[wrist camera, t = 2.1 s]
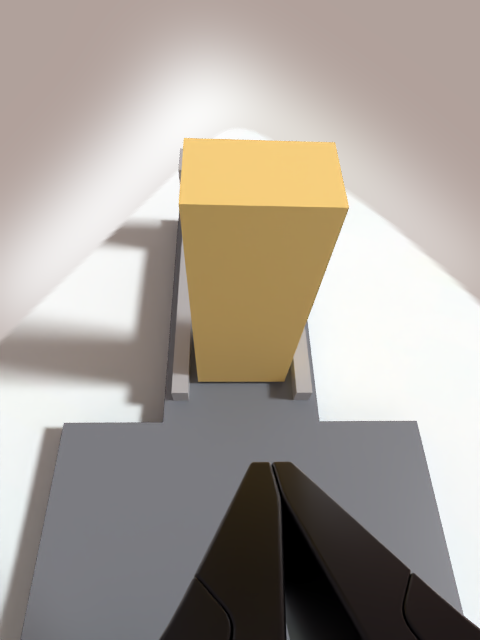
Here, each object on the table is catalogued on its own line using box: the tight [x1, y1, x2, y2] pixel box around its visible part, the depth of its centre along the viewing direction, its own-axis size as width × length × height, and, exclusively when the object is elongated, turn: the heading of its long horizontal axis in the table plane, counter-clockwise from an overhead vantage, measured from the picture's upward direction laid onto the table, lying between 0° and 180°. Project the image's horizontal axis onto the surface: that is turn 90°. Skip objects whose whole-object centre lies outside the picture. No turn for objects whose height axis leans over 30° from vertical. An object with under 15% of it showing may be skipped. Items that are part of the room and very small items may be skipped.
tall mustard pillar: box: [179, 138, 349, 382], centre depth 15 cm, size 2×4×11 cm, turn 91°
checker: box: [21, 149, 464, 640], centre depth 16 cm, size 30×16×6 cm, turn 1°
